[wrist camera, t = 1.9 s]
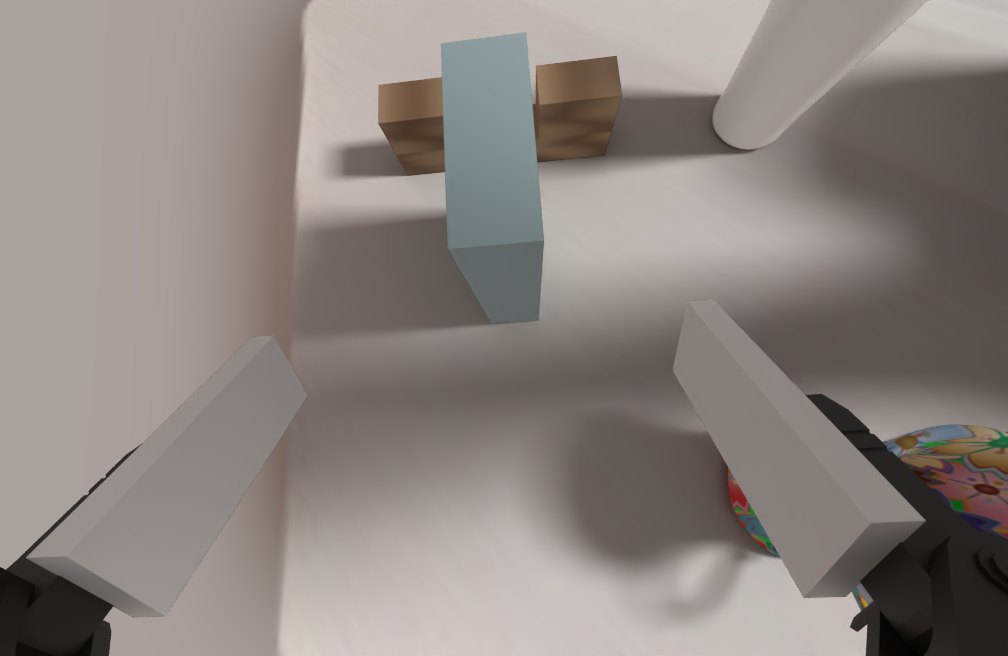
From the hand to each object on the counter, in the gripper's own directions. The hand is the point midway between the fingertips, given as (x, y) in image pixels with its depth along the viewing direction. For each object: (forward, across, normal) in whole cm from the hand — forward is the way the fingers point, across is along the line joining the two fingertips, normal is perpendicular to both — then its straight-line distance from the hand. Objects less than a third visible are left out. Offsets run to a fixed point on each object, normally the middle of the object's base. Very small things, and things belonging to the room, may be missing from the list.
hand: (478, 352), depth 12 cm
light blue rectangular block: (+16, +1, -4) cm, 17 cm away
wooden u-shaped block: (+23, +1, +3) cm, 23 cm away
